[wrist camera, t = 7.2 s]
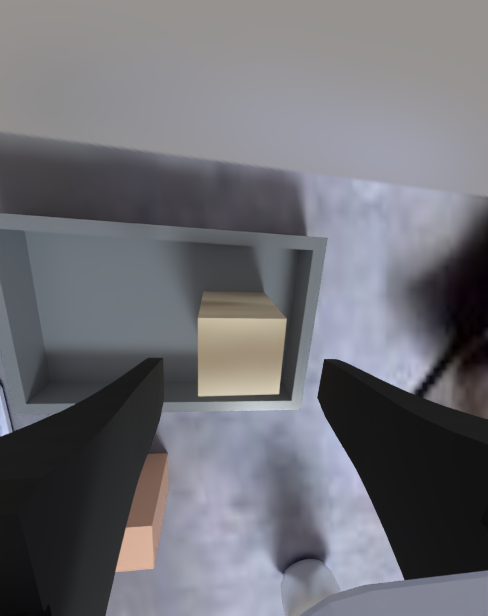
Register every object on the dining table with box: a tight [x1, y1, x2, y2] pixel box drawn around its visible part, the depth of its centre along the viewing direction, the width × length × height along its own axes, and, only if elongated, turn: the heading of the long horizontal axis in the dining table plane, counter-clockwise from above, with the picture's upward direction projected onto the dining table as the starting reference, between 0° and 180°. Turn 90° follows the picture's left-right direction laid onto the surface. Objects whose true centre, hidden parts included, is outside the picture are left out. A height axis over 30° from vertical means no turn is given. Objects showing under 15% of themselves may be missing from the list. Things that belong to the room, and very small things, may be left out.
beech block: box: [198, 291, 287, 396], centre depth 16 cm, size 4×4×6 cm
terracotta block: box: [115, 453, 169, 572], centre depth 20 cm, size 4×4×6 cm
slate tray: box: [0, 213, 328, 415], centre depth 17 cm, size 13×20×4 cm, turn 86°
